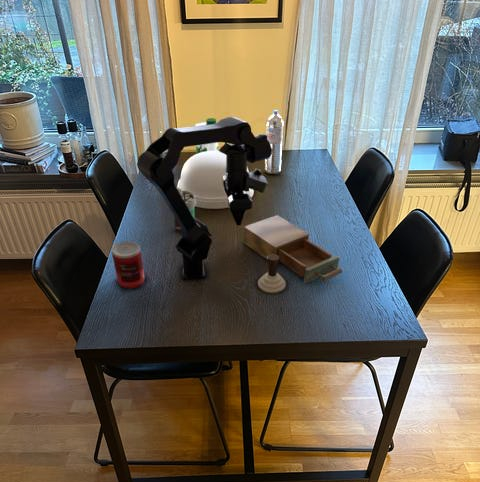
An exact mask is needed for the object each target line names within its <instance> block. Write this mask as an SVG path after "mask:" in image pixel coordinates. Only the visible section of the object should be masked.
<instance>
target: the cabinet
mask: <svg viewBox="0 0 480 482" xmlns="http://www.w3.org/2000/svg"><path fill="white" fill-rule="evenodd" d="M304 238H306V239H307V240H309V241H310V239H309V238H310V234H309V233H308V232H306V231H304V230H303V229H301V228H300V227H297V226H296V225H295V224H293V223H291V222H290V221H288V220H286V219H284V218H283V217H281V216H280V215H278V214H276V215H273V216H271V217H268V218H267V217H266V218H265V219H261V220H260V221H256V222H253V223H250V224H247V225H244V227H243V243H244V245H246V246H247V247H249V248H250V249H252V250H253V251H254V252H256V253H257V254H258V255H260V256H261V257H262V258H264V259H266V260H267V261H268V262H269V260H268V255H270V254H276V255H277V249H279V248H281V247H284V246H286V245H289V244H291V243H294V242H296V241H299V240H301V239H304ZM279 263H281V262H280V261H279V260H278V262H277V264H279Z"/></svg>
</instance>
